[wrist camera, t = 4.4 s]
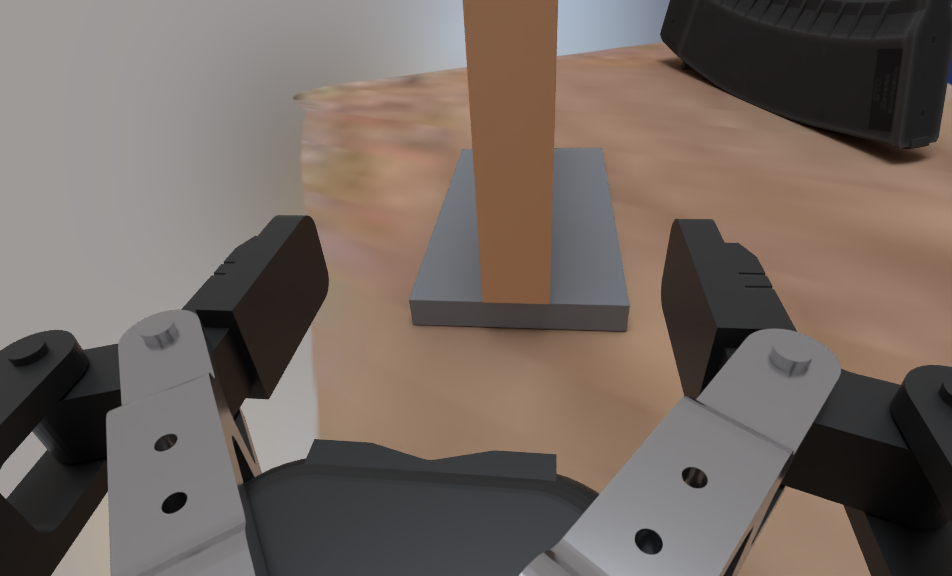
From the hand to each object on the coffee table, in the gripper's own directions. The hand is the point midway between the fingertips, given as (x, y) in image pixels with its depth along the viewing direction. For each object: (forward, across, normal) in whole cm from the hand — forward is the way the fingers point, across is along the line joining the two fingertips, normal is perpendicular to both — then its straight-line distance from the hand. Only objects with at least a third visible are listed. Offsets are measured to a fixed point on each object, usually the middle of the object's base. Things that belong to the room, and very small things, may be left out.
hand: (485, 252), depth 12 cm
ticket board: (+18, 0, +10) cm, 21 cm away
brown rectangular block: (+13, 0, +8) cm, 15 cm away
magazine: (+42, -20, +10) cm, 48 cm away
